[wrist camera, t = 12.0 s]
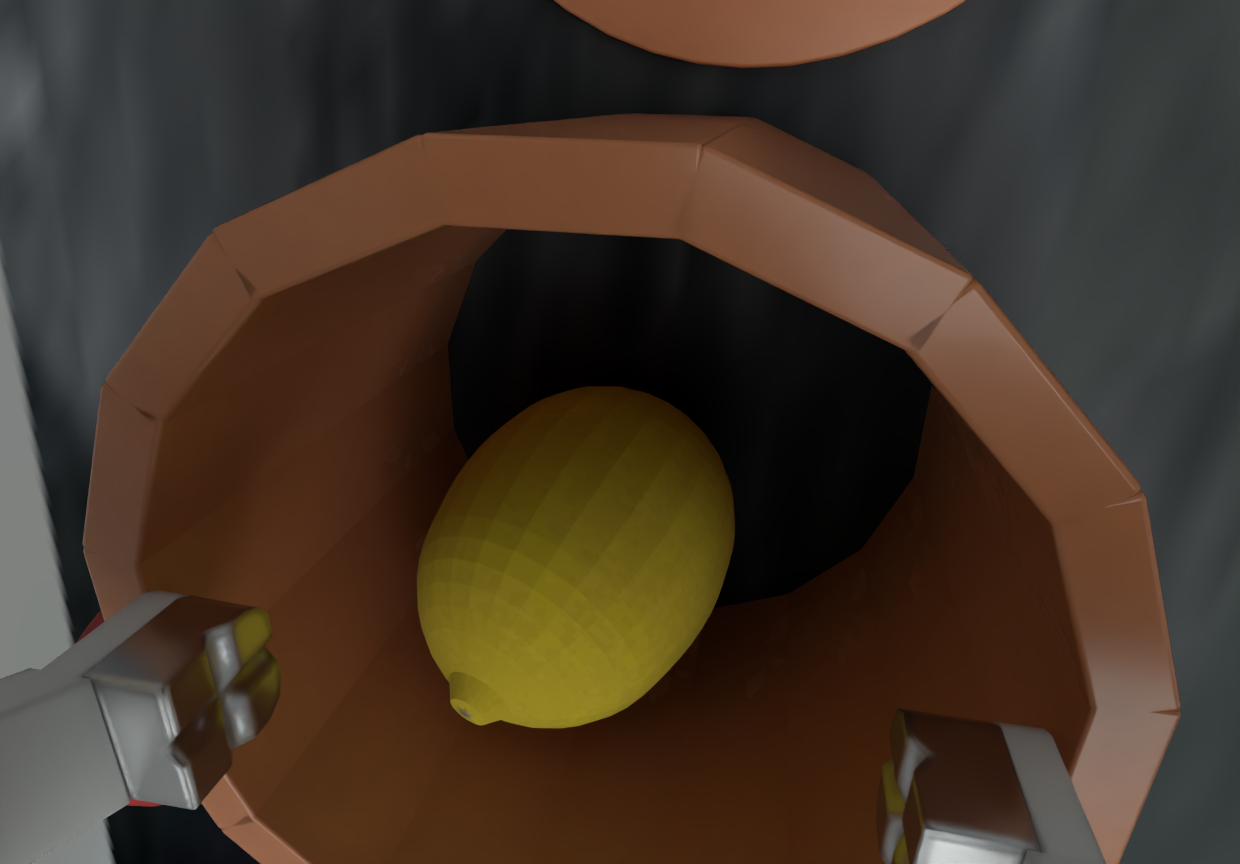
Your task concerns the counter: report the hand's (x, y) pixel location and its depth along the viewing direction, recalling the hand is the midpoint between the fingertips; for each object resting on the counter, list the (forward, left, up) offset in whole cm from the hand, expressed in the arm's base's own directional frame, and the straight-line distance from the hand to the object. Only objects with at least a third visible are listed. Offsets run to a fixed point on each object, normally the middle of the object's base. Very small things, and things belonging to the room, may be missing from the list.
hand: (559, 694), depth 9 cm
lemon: (0, 0, -9) cm, 9 cm away
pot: (0, 0, -10) cm, 10 cm away
